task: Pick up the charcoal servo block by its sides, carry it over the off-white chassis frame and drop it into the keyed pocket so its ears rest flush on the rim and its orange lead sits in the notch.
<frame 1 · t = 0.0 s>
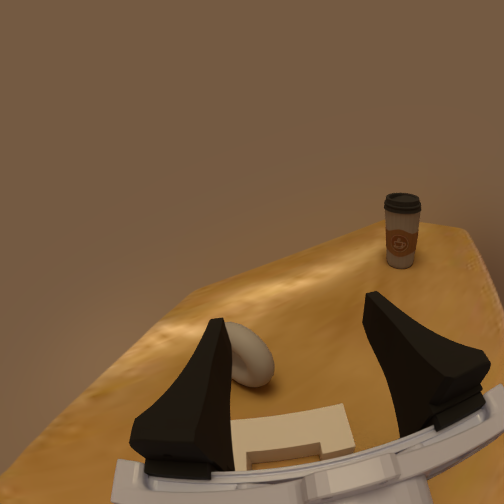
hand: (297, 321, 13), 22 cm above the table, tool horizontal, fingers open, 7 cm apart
coffee cup: (399, 263, 57), on the table
chassis: (287, 480, 22), on the table
donut: (247, 380, 36), on the table
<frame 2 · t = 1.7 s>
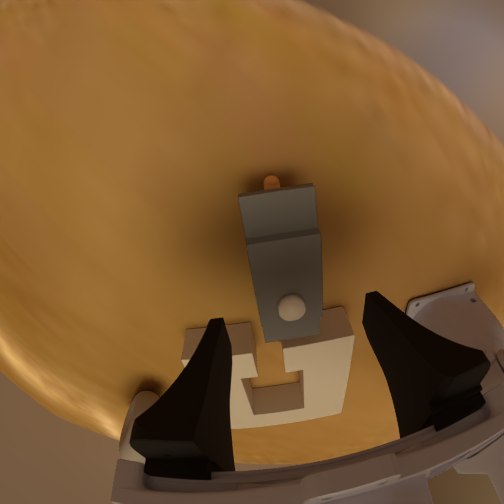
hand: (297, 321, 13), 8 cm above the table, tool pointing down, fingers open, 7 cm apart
chassis: (272, 367, 27), on the table
donut: (147, 393, 30), on the table
servo: (278, 244, 21), on the table
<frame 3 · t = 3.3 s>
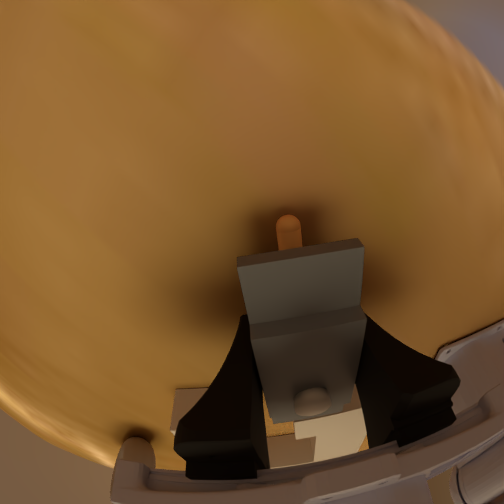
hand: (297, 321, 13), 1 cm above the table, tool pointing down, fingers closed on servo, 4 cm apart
chassis: (278, 421, 22), on the table
donut: (137, 437, 24), on the table
servo: (293, 303, 15), on the table, touching gripper
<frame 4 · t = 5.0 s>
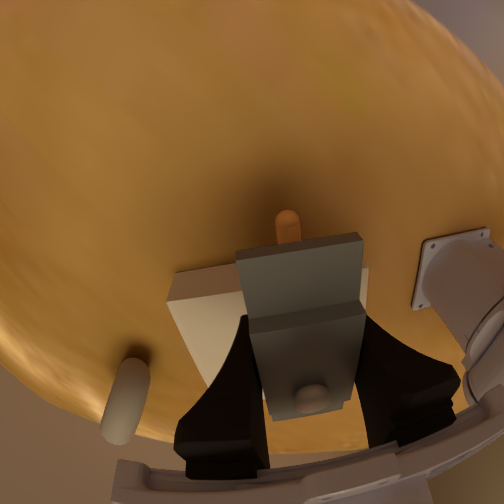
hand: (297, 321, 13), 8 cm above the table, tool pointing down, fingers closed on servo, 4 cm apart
chassis: (274, 323, 25), on the table
donut: (134, 363, 28), on the table
servo: (292, 299, 15), point 7 cm above the table, touching gripper
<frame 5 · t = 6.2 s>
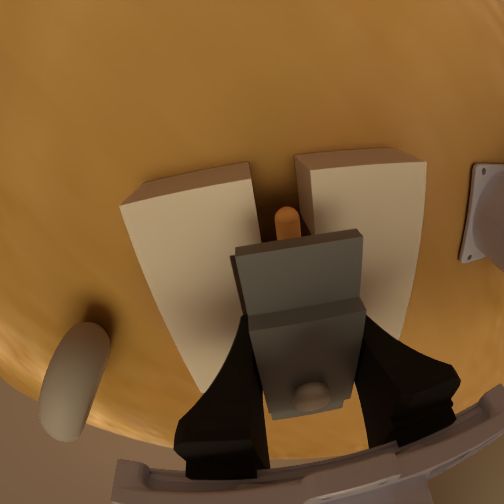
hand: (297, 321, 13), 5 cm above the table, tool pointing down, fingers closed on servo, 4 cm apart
chassis: (285, 270, 17), on the table
donut: (96, 334, 20), on the table
servo: (292, 297, 15), point 3 cm above the table, touching gripper
when the fingers open (4 cm above the table, at t = 7.1 s): servo drops 2 cm, resting on chassis.
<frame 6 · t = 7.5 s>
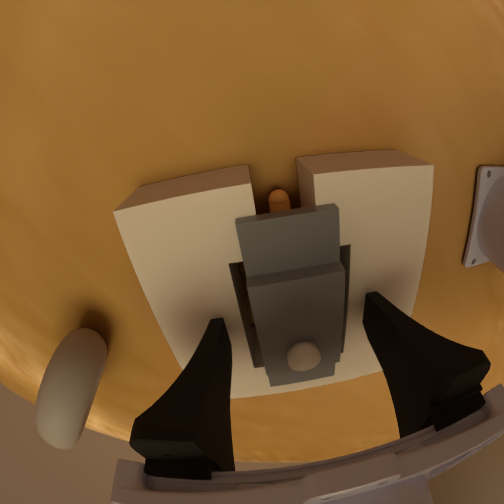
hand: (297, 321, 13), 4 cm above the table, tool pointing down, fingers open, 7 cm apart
chassis: (286, 276, 17), on the table
donut: (93, 340, 20), on the table
servo: (286, 272, 17), resting on chassis
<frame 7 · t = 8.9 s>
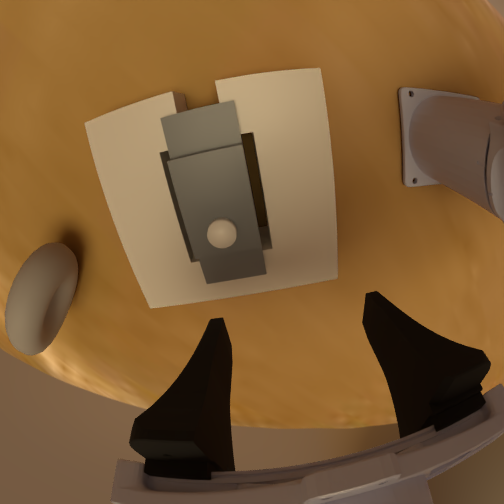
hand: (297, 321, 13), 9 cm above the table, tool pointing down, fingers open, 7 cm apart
chassis: (221, 185, 19), on the table
donut: (69, 266, 22), on the table
servo: (221, 182, 19), resting on chassis
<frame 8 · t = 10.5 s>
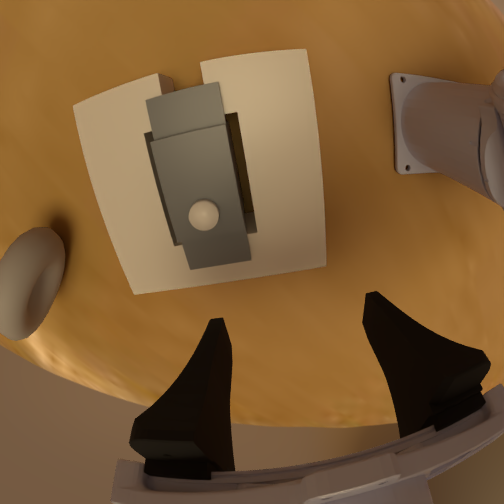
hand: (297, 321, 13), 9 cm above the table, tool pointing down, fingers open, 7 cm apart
chassis: (208, 169, 19), on the table
donut: (57, 253, 22), on the table
servo: (208, 167, 19), resting on chassis
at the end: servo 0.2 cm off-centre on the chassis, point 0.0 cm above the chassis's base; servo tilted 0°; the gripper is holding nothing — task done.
